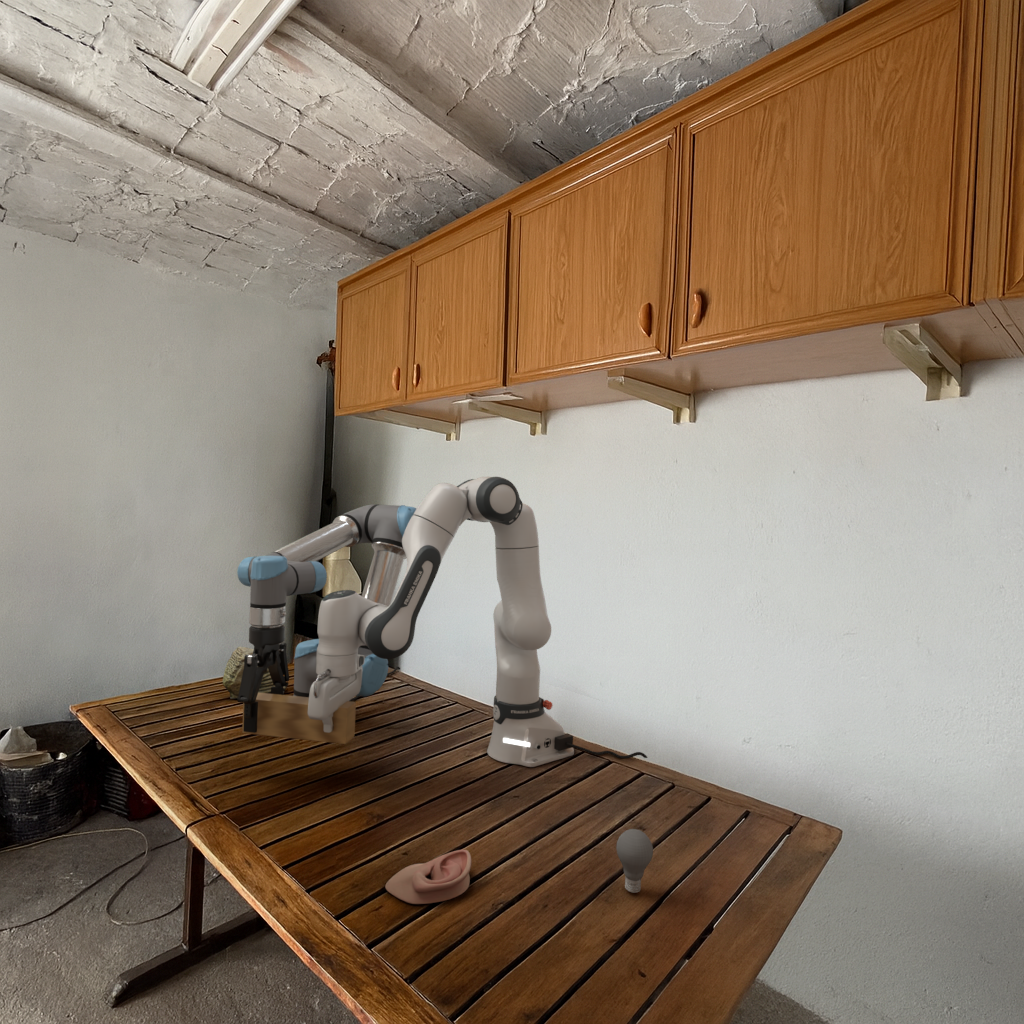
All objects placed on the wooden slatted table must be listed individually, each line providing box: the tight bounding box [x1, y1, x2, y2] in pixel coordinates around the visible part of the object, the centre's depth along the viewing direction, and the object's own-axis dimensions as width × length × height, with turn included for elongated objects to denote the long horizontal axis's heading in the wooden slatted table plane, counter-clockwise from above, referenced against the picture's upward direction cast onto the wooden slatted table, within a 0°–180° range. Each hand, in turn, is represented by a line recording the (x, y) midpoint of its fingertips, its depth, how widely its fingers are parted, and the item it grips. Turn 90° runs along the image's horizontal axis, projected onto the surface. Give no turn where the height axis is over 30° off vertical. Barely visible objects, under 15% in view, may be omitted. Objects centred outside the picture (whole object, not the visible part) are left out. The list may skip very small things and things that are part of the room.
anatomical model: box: [385, 849, 472, 905], centre depth 105 cm, size 13×4×12 cm
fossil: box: [222, 646, 287, 699], centre depth 198 cm, size 9×18×15 cm, turn 132°
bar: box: [241, 693, 357, 745], centre depth 141 cm, size 24×5×8 cm, turn 81°
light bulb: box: [615, 828, 654, 894], centre depth 106 cm, size 6×6×10 cm
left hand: (263, 722), depth 143 cm, fingers open, 10 cm apart
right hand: (334, 726), depth 140 cm, fingers closed on bar, 5 cm apart
